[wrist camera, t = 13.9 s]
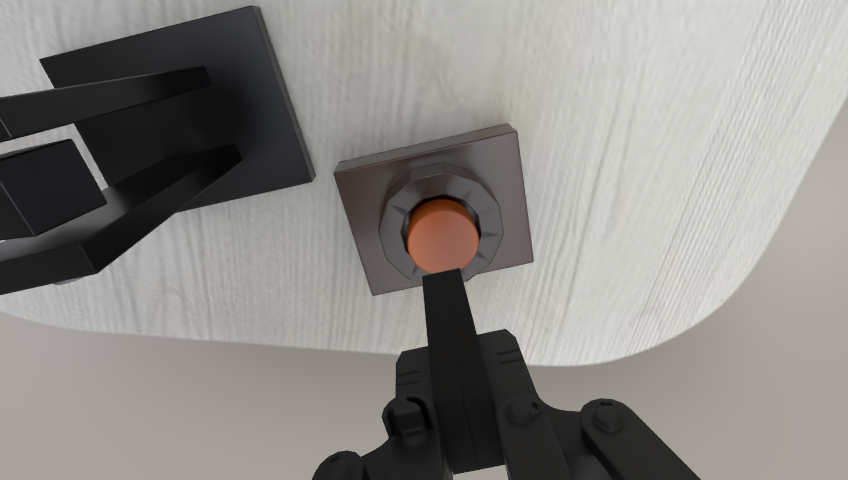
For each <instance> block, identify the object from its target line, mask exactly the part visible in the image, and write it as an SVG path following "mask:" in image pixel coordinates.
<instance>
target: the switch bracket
mask: <svg viewBox="0 0 848 480" xmlns="http://www.w3.org/2000/svg"><path fill="white" fill-rule="evenodd" d="M39 61H40V63H41V64H42V66H43V68H44V70H45V72H46V74H47V75H48V77H49V79H50V81H51V83H52V84H53V86H54V88H55V89H51V90H45V91H38V92H32V93H26V94H19V95H13V96H6V97H0V143H1V142H5V141H9V140H13V139H17V138H21V137H24V136H28V135H32V134H35V133H39V132H43V131H46V130H50V129H54V128H58V127H61V126H65V125H69V124H72V123H74V124H75V126H76V128H77V130H78V132H79V133H80V135H81V137H82V139H83V141H84V142H85V144H86V146H87V148H88V150H89V152H90V153H91V155H92V157H93V159H94V161H95V162H96V164H97V166H98V168H99V170H100V172H101V173H102V175H103V177H104V179H105V181H106V182H107V184H108V186H109V187H108V188H106V189H104V190H102V191H101V192H102V193H103V195H104V197H105V199H106V200H107V204H106V205H104V206H102V207H100V208H97V209H95V210H93V211H91V212H89V213H87V214H84V215H82V216H80V217H78V218H76V219H73V220H71V221H69V222H67V223H65V224H63V225H60V226H58V227H56V228H54V229H52V230H49V231H47V232H45V233H43V234H41V235H38V236H35V237H27V238H18V239H9V240H6V241H4V242H2V243H0V295H3V294H8V293H12V292H17V291H21V290H26V289H30V288H35V287H39V286H44V285H48V284H55V285H61V284H66V283H70V282H73V281H76V280H78V279H81V278H83V277H85V276H89V275H94V274H97V273H99V272H100V271H101V270H103V269H104V268H105V267H106V266H108V265H109V264H110V263H112V262H113V261H114V260H115V259H117V258H118V257H119V256H121V255H122V254H123V253H124V252H126V251H127V250H128V249H130V248H131V247H132V246H133V245H135V244H136V243H137V242H139V241H140V240H141V239H142V238H144V237H145V236H146V235H148V234H149V233H150V232H151V231H153V230H154V229H155V228H157V227H158V226H159V225H160V224H162V223H163V222H164V221H166V220H167V219H168V218H169V217H171V216H172V215H173V214H175V213H177V212H182V211H186V210H190V209H195V208H199V207H204V206H208V205H212V204H217V203H221V202H226V201H230V200H234V199H239V198H243V197H248V196H252V195H257V194H261V193H265V192H270V191H274V190H279V189H283V188H287V187H292V186H296V185H301V184H305V183H309V182H312V181H313V179H314V178H315V176H316V175H315V172H314V169H313V166H312V163H311V160H310V157H309V154H308V151H307V148H306V145H305V142H304V139H303V136H302V133H301V130H300V127H299V124H298V121H297V118H296V115H295V112H294V109H293V106H292V103H291V100H290V97H289V94H288V91H287V88H286V85H285V83H284V80H283V77H282V74H281V71H280V68H279V65H278V62H277V59H276V56H275V53H274V50H273V47H272V44H271V41H270V38H269V35H268V32H267V29H266V26H265V23H264V20H263V17H262V14H261V11H260V8H259V7H256V6H247V7H243V8H239V9H235V10H231V11H228V12H224V13H220V14H216V15H212V16H208V17H204V18H200V19H196V20H192V21H188V22H184V23H180V24H176V25H172V26H168V27H164V28H160V29H156V30H152V31H148V32H145V33H141V34H137V35H133V36H129V37H125V38H121V39H117V40H113V41H109V42H105V43H101V44H97V45H93V46H89V47H85V48H81V49H77V50H73V51H69V52H65V53H62V54H58V55H54V56H50V57H46V58H42V59H39Z"/></svg>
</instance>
